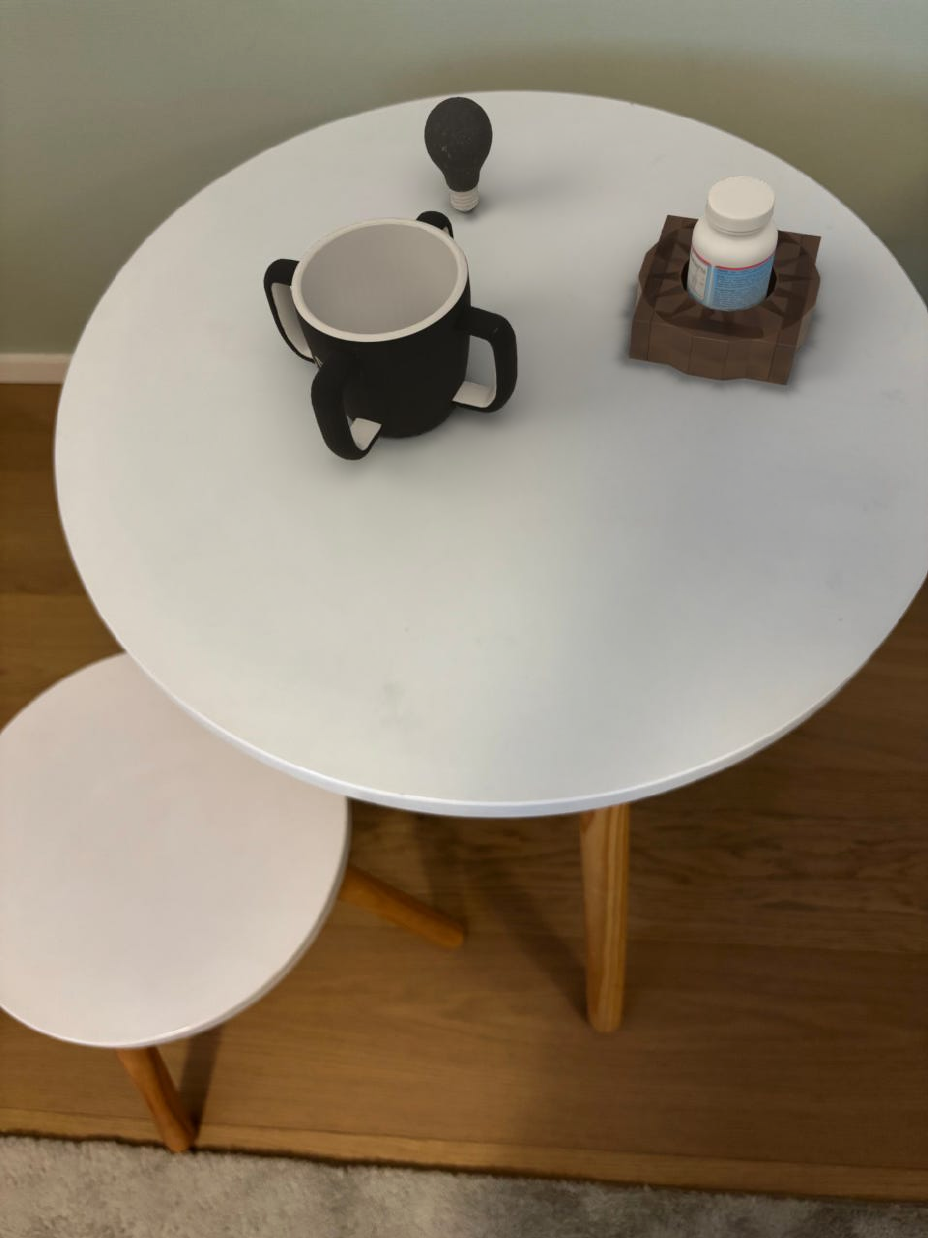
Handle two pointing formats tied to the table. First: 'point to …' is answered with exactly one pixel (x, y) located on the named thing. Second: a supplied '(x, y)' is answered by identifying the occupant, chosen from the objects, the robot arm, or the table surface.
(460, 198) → the light bulb
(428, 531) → the table surface
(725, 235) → the pill bottle
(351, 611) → the table surface
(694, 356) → the hole plate
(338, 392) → the mug
